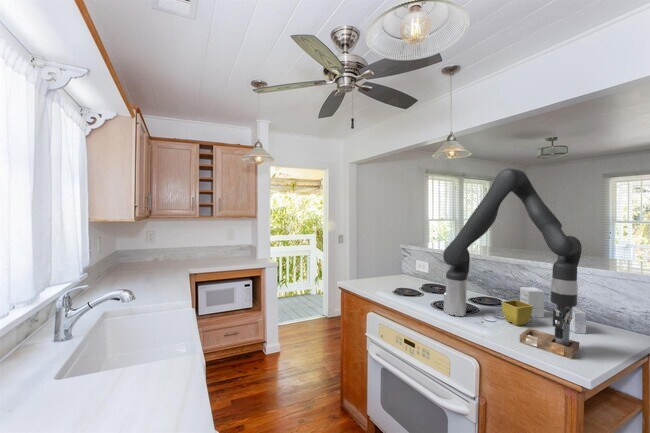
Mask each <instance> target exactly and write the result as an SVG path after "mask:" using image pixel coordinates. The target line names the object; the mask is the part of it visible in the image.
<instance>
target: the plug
mask: <svg viewBox="0 0 650 433" xmlns="http://www.w3.org/2000/svg"><path fill="white" fill-rule="evenodd" d="M557 324H560V322H557ZM570 331H571V330H570V324H568V323H565V324H564V328H563V338H562V339H559V338H556V337H555V343H557V344H561V345H564V346H567V347H569V340H570V334H571V332H570Z"/></svg>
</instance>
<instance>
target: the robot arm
mask: <svg viewBox="0 0 650 433" xmlns="http://www.w3.org/2000/svg"><path fill="white" fill-rule="evenodd" d="M511 192H512V193H513V194H514V195H515V196H517V197H518V199H519V200H520V201H521V202H522V204H523V205H524V208H525V209H526V212H527V216H528V218H530V220H531V222H532V223H533V224H534V225H535V227H536V228H537V229H538V230H539V232H540V233H541V235H542V237H543V239H544V241H545V243H546V245H547V247H548V248H549V250H550V251H551V252H552V253H554V254H555V255H556V256H557V259H556V261H555V262H554V263H553V264H552V273H551V275H552V278H551V283H550V302H551V303H552V304H555V305H556V308H555V309H553V312H552V313H553V314H552V327H554V335H555V337H556V338H559V339H562V338H563V328H564V324H565V323H568V324H570V323H569V322H571V320H572V307H575V308H576V306H577V305H578V266H579V263H580V259H581V256H582V249H583V248H582V243H581V241H580V240H579V239H578V238H577V237H575V236H572V235H566V234H565V233H564V231H563V229H562V227H563V224H562V223H561V221H560V219H558V217H557V216H556V215H555V214H554V213H553V212H552V211H551V209H550V208H549V206H547V204H545V202H544V201H543V199H541V197H540V196H539V194H538V192H537V191H536V189H535V188H534V186H533V184H532V182H531V181H530V178H529V177H528V175H527V174H526V173H525V172H524V171H523V170H520V169H517V168H516V169H515V168H505V169H502V170H501V171H500V172H498V174H497V175H496V177H495V178H494V179H493V182H492V183H491V185H490V187H489V188H488V190H487V192H486V193H485V196H484V197H483V198H482V200H481V201H480V203H479V204H478V205H477V207H476V208H475V209H474V211H473V212H472V213H471V215H470V216H469V218H468V219H467V220H466V222H465V223H464V225H463V227H462V228H461V229H460V230H459V232H458V233H457V235H456V236H455V238H454V239H453V240H452V241H451V242H450V243H449V244H448V245H447V247H446V248H445V249H444V251H443V254H442V257H443V258H442V259H443V261H444V263H445V264H447V265H449V266H450V267H449V269H448V270H447V271H446V273H445V274H446V276H445V292H444V293H443V313H445V312H446V313H445V314H447V315H449V314H450V315H449V316H451V315H455V316H454V317H457V316H462V317H464V316H463V315H465V316H466V315H467V292H468V291H467V287H468V284H467V281H468V276H469V272H470V261H471V260H470V259H471V255H470V252H469V249H468V248H470V247H471V245H472V244H473V243H475V242H476V241H477V240H478V239H480V238H482V237H483V236H484V235H485V234H486V233H487V232H488V231H489V230H490V228H491V227H492V226H493V224H494V223H495V221H496V219H497V216H498V212H499V209H500V207H501V204H502V202H503V201H504V200H505V198H506V197H507V196H508V195H509V194H510V193H511ZM557 322H560V324H557Z"/></svg>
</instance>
